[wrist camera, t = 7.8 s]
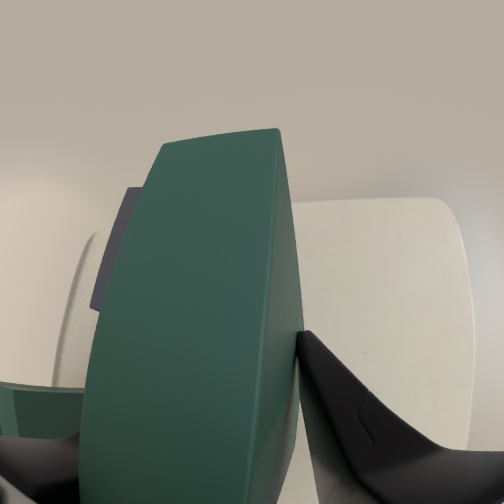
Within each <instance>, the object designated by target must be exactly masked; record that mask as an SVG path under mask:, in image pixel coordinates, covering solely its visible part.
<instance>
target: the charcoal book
mask: <svg viewBox="0 0 504 504" xmlns="http://www.w3.org/2000/svg"><path fill="white" fill-rule="evenodd" d="M142 188H143V187H130V188H128V189H127V191H126V194H125V196H124V199H123V201H122V204H121V206H120V209H119V212H118V215H117V217H116V220H115V222H114V225H113V228H112V231H111V234H110V237H109V240H108V243H107V246H106V249H105V252H104V255H103V258H102V262H101V265H100V268H99V272H98V275H97V279H96V283H95V286H94V290H93V294H92V298H91V302H90V308H91V309H94V310H96V311H98V312H100V310H101V306H102V302H103V298H104V295H105V291H106V288H107V284H108V281H109V278H110V274H111V271H112V268H113V265H114V262H115V259H116V256H117V253H118V250H119V247H120V244H121V241H122V238H123V235H124V233H125V230H126V227H127V225H128V222H129V219H130V217H131V214H132V212H133V209H134V207H135V204H136V202H137V199H138V197H139V195H140V192H141V190H142Z"/></svg>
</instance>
